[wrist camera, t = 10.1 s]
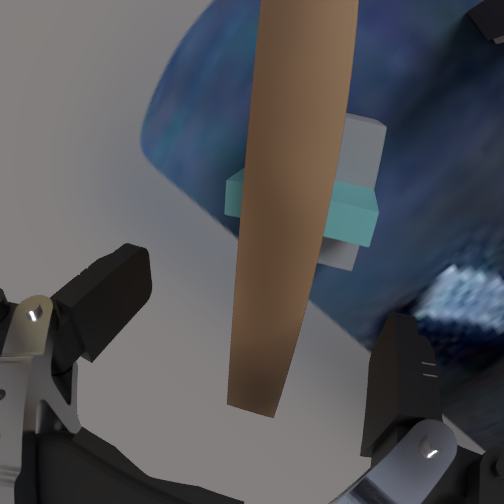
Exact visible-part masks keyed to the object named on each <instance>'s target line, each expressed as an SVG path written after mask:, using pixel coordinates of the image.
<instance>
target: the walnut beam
mask: <svg viewBox="0 0 504 504" xmlns="http://www.w3.org/2000/svg"><path fill="white" fill-rule="evenodd" d="M358 6H359V0H261V8H260V17H259V26H258V36H257V45H256V55H255V65H254V74H253V85H252V95H251V105H250V115H249V126H248V137H247V148H246V159H245V170H244V181H243V193H242V205H241V217H240V229H239V241H238V255H237V266H236V279H235V293H234V306H233V321H232V334H231V349H230V365H229V379H228V395H227V404H228V405H231V406H234V407H237V408H240V409H243V410H247V411H250V412H254V413H257V414H260V415H264V416H267V417H272V418H274V415H275V412H276V409H277V406H278V403H279V400H280V397H281V394H282V390H283V387H284V384H285V381H286V377H287V374H288V371H289V367H290V363H291V360H292V357H293V353H294V350H295V346H296V343H297V339H298V336H299V332H300V328H301V325H302V321H303V317H304V313H305V310H306V306H307V302H308V298H309V294H310V290H311V286H312V282H313V278H314V274H315V270H316V265H317V261H318V257H319V252H320V248H321V244H322V239H323V235H324V230H325V225H326V221H327V216H328V211H329V206H330V201H331V196H332V191H333V186H334V181H335V176H336V170H337V165H338V159H339V153H340V148H341V142H342V136H343V130H344V123H345V117H346V110H347V104H348V97H349V89H350V82H351V74H352V66H353V57H354V49H355V39H356V29H357V18H358Z"/></svg>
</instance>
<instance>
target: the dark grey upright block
mask: <svg viewBox="0 0 504 504" xmlns="http://www.w3.org/2000/svg"><path fill="white" fill-rule="evenodd" d="M467 13H468V15H469V16H470V17H471V19H472V20H473V21H474V23H475V24H476V25H477V27H478V28H479V30H480V31H481V33H482V34H483V35H484V37H485V38H486V40H488V41H489V40H492V39H493V40H494V42H495V43H496V44H499V43H503V42H504V0H484V1H482V2H481V3H479V4H478V5H476V6H475V7H473V8H472V9H470V10H469V11H468V12H467Z"/></svg>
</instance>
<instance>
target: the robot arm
mask: <svg viewBox="0 0 504 504" xmlns="http://www.w3.org/2000/svg"><path fill="white" fill-rule="evenodd" d="M151 292H152V280H151V270H150V261H149V253H148V251H147V249H145V248H143V247H139V246H135V245H132V244H129V243H126V244H124V245H122V246H121V247H120V248H119V249H117V250H116V251H115V252H113V253H111V254H109V255H107V256H104V257H102V258H99V259H98V260H96V261H95V262H94V263H92V264H91V265H90V266H89V267H88V269H87V268H86V269H85V270H83V271H82V272H81V273H80V275H77V276H76V277H75V278H73V279H72V280H71V281H70V282H69V283H67V284H66V285H65V286H64V287H62V288H61V289H60V290H59V291H58V292H56V293H55V294H54V295H53V296H52V297H50V298H48V297H46V296H43V295H36V296H32V297H29V298H27V299H25V300H23V301H22V302H21V303H20V304H16V303H11V302H8V301H7V299H6V297H5V294H4V292H3V290H2V289H1V288H0V504H244V502H243V501H240V500H237V499H234V498H230V497H227V496H224V495H221V494H218V493H215V492H213V491H210V490H207V489H204V488H202V487H199V486H193V485H187V484H181V483H175V482H171V481H166V480H161V479H156V478H152V477H150V476H148V475H146V474H145V473H144V472H142V471H141V470H140V469H139V468H138V467H137V466H135V465H134V464H133V463H132V462H131V461H130V460H129V459H128V458H126V457H125V456H124V455H123V454H122V453H121V452H120V451H119V450H118V449H117V448H116V447H115V446H113V445H111V444H109V443H108V442H106V441H104V440H102V439H101V438H99V437H98V436H96V435H95V434H93V433H91V432H89V431H88V430H87V429H85V428H83V427H81V424H80V422H79V419H78V415H77V375H78V365H77V362H76V360H77V359H78V358H79V357H80V356H81V357H83V358H84V359H86V360H88V361H90V362H91V363H92V362H93V361H94V360H95V359H96V358H97V357H98V355H99V354H100V353H101V352H102V351H103V350H104V349H105V347H106V346H107V345H108V344H109V343H110V342H111V341H112V339H114V337H115V336H116V335H117V334H118V333H119V332H120V331H121V330H122V329H123V327H124V326H125V325H126V324H127V323H128V322H129V321H130V320H131V319H132V317H133V316H134V315H135V314H136V313H137V312H138V311H139V310H140V309H141V308H142V307H143V306H144V305H145V303H146V302H147V301H148V300H149V298H150V295H151ZM435 365H436V361H435V354H434V349H433V348H432V346H431V344H430V343H429V341H428V339H427V338H426V336H421V335H418V330H417V323H416V319H415V317H413V316H409V315H404V314H400V313H395V312H391V313H390V315H389V316H388V318H387V320H386V323H385V325H384V327H383V329H382V331H381V333H380V335H379V337H378V340H377V342H376V344H375V346H374V348H373V350H372V353H371V357H370V362H369V371H368V387H367V400H366V410H365V411H366V412H365V420H364V429H363V439H362V445H361V454H360V456H363V457H371V458H372V460H371V467H370V468H369V469H368V470H367V471H366V472H365V473H364V474H363V475H362V476H361V477H359V478H358V479H357V480H356V481H355V482H354V483H353V484H351V485H350V486H349V487H348V488H347V489H346V490H344V491H343V492H342V493H341V494H339V495H338V496H337V497H336V498H335V499H333V500H332V501H331V502H329V503H328V504H504V448H503V447H493V448H491V449H489V450H488V451H486V452H485V453H484V454H483V455H480V454H478V453H475V452H473V451H470V450H468V449H465V448H462V447H461V446H459V445H457V441H456V438H455V435H454V433H453V432H452V430H451V429H450V428H449V427H448V426H447V425H446V424H444V423H443V420H442V409H441V399H440V390H439V382H438V378H437V375H438V374H437V367H436V366H435Z"/></svg>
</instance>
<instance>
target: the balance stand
mask: <svg viewBox="0 0 504 504" xmlns="http://www.w3.org/2000/svg"><path fill="white" fill-rule="evenodd" d="M386 129H387V127H386V126H385V125H383V124H382V123H380V122H379V121H378V120H375V119H371V118H367V117H363V116H358V115H354V114H349V113H346V117H345V123H344V130H343V136H342V142H341V148H340V153H339V159H338V165H337V170H336V176H335V181H334V186H333V191H332V196H331V201H330V206H329V211H328V216H327V221H326V225H325V230H324V235H323V239H322V244H321V248H320V252H319V257H318V261H317V263H320V264H324V265H328V266H332V267H336V268H341V269H345V270H349V271H352V269H353V265H354V262H355V259H356V255H357V252H358V248H359V245H362V246H366V247H369V246H370V242H371V239H372V235H373V232H374V228H375V225H376V221H377V218H378V214H379V210H378V206H377V201H376V197H375V192H374V187H375V183H376V178H377V174H378V169H379V164H380V160H381V155H382V150H383V145H384V140H385V135H386ZM244 170H245V168H243V169H242V170H240V171H239V172H237V173H236V174H235V175H233V176H232V177H230V178H229V179H227V180H226V196H225V212H224V215H229V216H234V217H238V218H240V217H241V205H242V193H243V181H244Z"/></svg>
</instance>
